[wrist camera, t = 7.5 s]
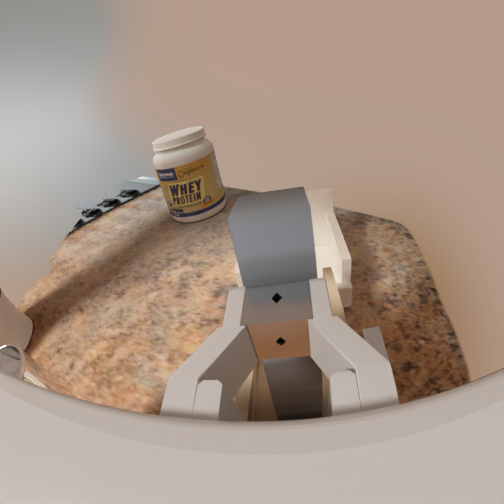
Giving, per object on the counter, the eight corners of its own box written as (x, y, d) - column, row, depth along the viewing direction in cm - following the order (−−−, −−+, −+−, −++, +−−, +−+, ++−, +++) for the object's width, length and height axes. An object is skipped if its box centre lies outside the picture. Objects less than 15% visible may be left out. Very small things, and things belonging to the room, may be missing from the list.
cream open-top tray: (351, 306, 29) (354, 239, 24) (245, 318, 31) (225, 256, 26) (333, 245, 39) (330, 187, 34) (251, 255, 41) (238, 200, 36)
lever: (365, 461, 13) (425, 214, 6) (242, 470, 14) (121, 255, 7) (337, 312, 27) (325, 147, 20) (259, 321, 28) (224, 162, 21)
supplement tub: (166, 230, 54) (137, 150, 44) (179, 203, 64) (157, 135, 54) (225, 218, 52) (201, 131, 43) (230, 192, 62) (211, 120, 53)
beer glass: (79, 453, 19) (-32, 373, 10) (119, 418, 22) (18, 324, 14) (112, 502, 14) (-25, 441, 6) (158, 463, 18) (34, 384, 10)
